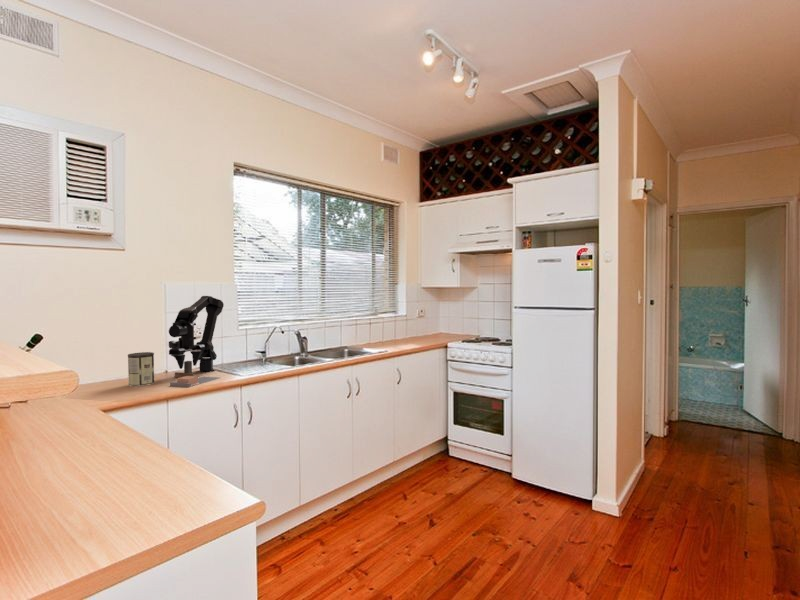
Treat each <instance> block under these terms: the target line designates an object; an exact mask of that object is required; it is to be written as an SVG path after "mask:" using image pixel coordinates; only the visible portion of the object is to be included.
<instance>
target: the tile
mask: <svg viewBox="0 0 800 600" xmlns="http://www.w3.org/2000/svg"><path fill="white" fill-rule="evenodd" d="M198 378H199V377H197V376H185V377H181V378H179V377H176V381H177V382H179V383H191V385H193V384H197V383H198Z"/></svg>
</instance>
